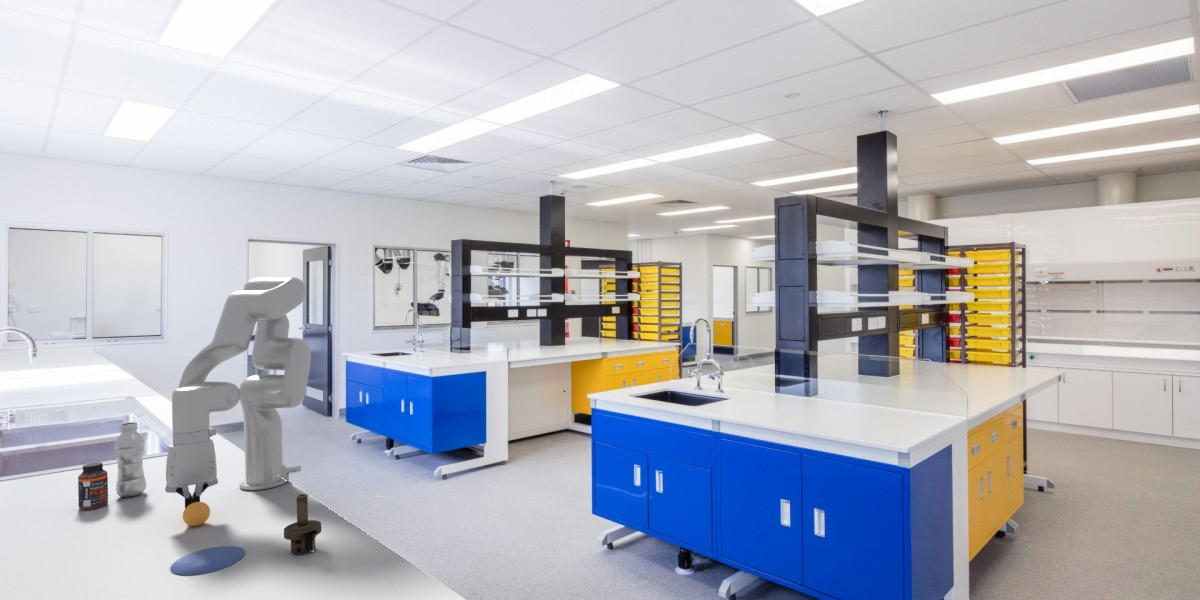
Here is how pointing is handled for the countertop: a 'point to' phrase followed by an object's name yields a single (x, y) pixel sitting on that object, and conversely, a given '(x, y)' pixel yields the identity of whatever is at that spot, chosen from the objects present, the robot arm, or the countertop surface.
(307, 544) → the industrial component
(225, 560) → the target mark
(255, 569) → the countertop surface
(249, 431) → the robot arm
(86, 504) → the supplement bottle
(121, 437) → the plastic bottle
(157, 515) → the countertop surface
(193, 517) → the ball
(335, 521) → the countertop surface
